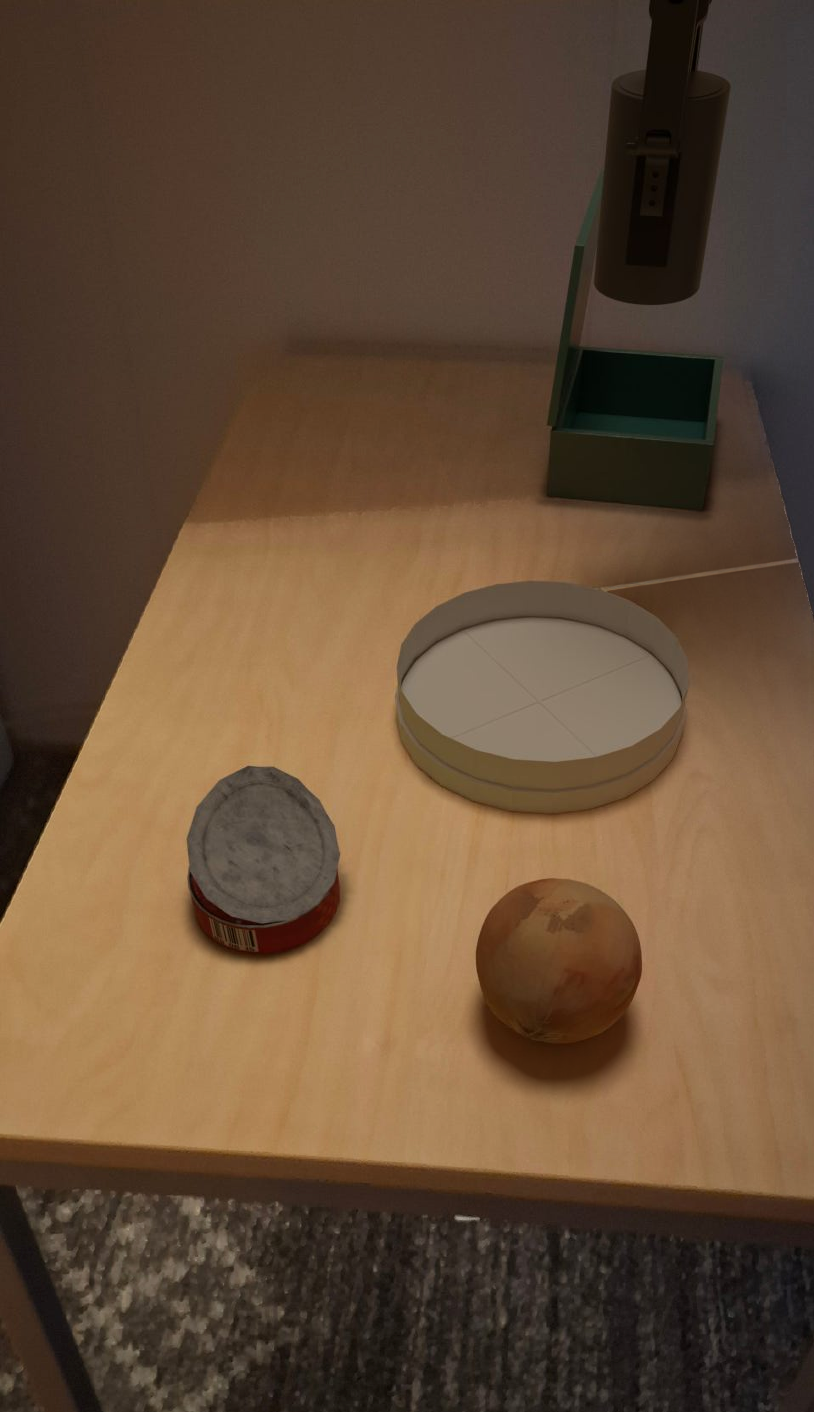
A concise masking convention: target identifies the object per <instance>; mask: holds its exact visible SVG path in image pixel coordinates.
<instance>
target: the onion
mask: <svg viewBox="0 0 814 1412" xmlns="http://www.w3.org/2000/svg"><path fill="white" fill-rule="evenodd" d="M475 947H476V948H475V968H476V974H477V978H478V982H479V986H480V990H481V994H482V997H483V999H484V1001H485V1003H486V1005H487V1006H488V1008H489V1009H490V1011H491V1012H492V1013H493V1015H494V1016H495V1017H496V1018H497V1019H498V1020H499V1021H500V1022H502V1023H503V1024H504V1025H506V1026H507V1027H508V1028H510V1029H511V1030H513V1031H514V1032H516V1033H518V1034H520V1035H521V1036H523V1037H525V1038H526V1039H529V1040H531V1041H536V1042H539V1041H540V1042H544V1043H547V1044H569V1043H576V1042H577V1043H578V1042H581V1041H584V1040H587V1039H590V1038H592V1037H596V1036H598V1035H600V1034H601V1033H603V1032H605V1031H606V1030H607V1029H609V1028H610V1027H612V1026H613V1025H614V1024H615V1023H616V1022H617V1021H618V1020H619V1019H621V1017H622V1016H623V1015H624V1014H625V1013H626V1011H627V1010H628V1008H629V1006H630V1005H631V1003H632V1001H633V999H634V997H635V995H636V992H637V990H638V987H639V985H640V981H641V980H642V979H641V978H642V973H643V958H642V957H643V956H642V954H643V953H642V947H641V940H640V937H639V934H638V932H637V929H636V927H635V925H634V923H633V920H632V919H631V918H630V916H629V915H628V913H627V912H626V911H625V909H623V907H622V906H621V905H620V904H619V903H618V902H617V901H616V900H615V899H614V898H613V897H612V896H610V895H608V894H607V893H605V892H604V891H602V890H601V889H599V888H597V887H595V886H593V885H591V884H589V883H585V882H583V881H578V880H574V879H569V878H557V877H556V878H554V877H550V878H542V879H541V878H540V879H537V880H532V881H528V882H526V883H523V884H520V885H518V886H515V887H514V888H513V889H511V890H509V891H508V892H507V893H506V894H504V895H503V896H502V897H500V898H499V900H498V901H497V902H496V903H495V904H494V905H493V906H492V907H491V909H490V910H489V911H488V913H487V915H486V917H485V918H484V921H483V923H482V926H481V928H480V931H479V933H478V939H477V942H476V946H475Z"/></svg>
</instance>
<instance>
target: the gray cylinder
mask: <svg viewBox="0 0 814 1412" xmlns="http://www.w3.org/2000/svg"><path fill="white" fill-rule="evenodd" d="M645 74H646V69H639V70H634V71H631V72H626V73H624V74H622V75H619V76H618V77H616V78H615V79H613V80H612V83H611V87H610V98H609V99H610V101H609V111H608V122H607V132H606V143H605V144H606V145H605V154H604V155H605V156H604V167H603V171H604V176H603V187H602V198H601V209H600V220H599V231H598V242H597V248H596V254H595V263H594V265H595V266H594V275H593V286H594V287H595V290H597V291H598V292H599V293H600V294H601V295H603V296H605V297H607V298H608V299H611V300H614V301H617V302H621V303H625V304H630V305H639V306H662V305H663V306H664V305H670V304H675V303H680V302H683V301H686V300H687V299H690V298H691V297H693V296H694V295H696V294H697V293H698V292H699V290H700V286H701V280H702V273H703V268H704V262H705V261H704V260H705V255H706V248H707V243H708V237H709V236H708V235H709V229H710V224H711V223H710V222H711V215H712V210H713V205H714V197H715V191H716V184H717V178H718V171H719V165H720V159H721V151H722V145H723V139H724V134H725V126H726V120H727V115H728V114H727V113H728V107H729V102H730V101H729V100H730V94H731V88H732V87H731V83H730V81H729V80H727V79H726V78H725V77H722V76H721V75H718V74H715V73H711V72H708V71H702V70H691V74H690V80H689V87H688V94H687V101H686V108H685V114H684V121H683V128H682V135H681V139H682V150H681V152H680V153H682V155H681V163H680V170H679V177H678V185H677V192H676V200H675V207H674V215H673V222H672V230H671V237H670V245H669V252H668V259H667V265H666V268H664V267H649V266H635V265H625V260H626V251H627V242H628V233H629V224H630V215H631V205H632V196H633V187H634V178H635V169H636V160H637V156H626V149H627V143H635V142H636V137H638V134H639V125H640V117H641V108H642V100H643V91H644V83H645ZM650 131H664V132H670V131H668V130H653V129H652V130H650Z"/></svg>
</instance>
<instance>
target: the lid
mask: <svg viewBox="0 0 814 1412" xmlns="http://www.w3.org/2000/svg"><path fill="white" fill-rule="evenodd" d="M603 176H604V170H600V171H599V175H598V177H597V181H596V183H595V186H594V189H593V191H592V194H591V198H590V200H589V203H588V207H587V209H586V212H585V215H584V218H583V221H582V223H581V226H580V229H579V232H578V235H577V238H576V241H575V244H574V249H573V255H572V260H571V261H572V263H571V268H570V273H569V281H568V286H567V294H566V299H565V306H564V311H563V312H564V313H563V319H562V326H561V331H560V338H559V344H558V351H557V358H556V362H555V363H556V364H555V370H554V377H553V383H552V390H551V396H550V401H549V408H548V416H547V421H546V426H549V427H552V426H554V427H555V426H556V423H557V420H558V416H559V413H560V409H561V406H562V403H563V399H564V396H565V392H566V389H567V386H568V382H569V379H570V376H571V372H572V369H573V365H574V362H575V359H576V355H577V352H578V349H579V346H581V343H582V342H581V341H582V337H583V330H584V324H585V319H586V312H587V306H588V302H589V301H588V300H589V296H590V295H589V294H590V288H591V283H592V276H593V272H594V267H595V266H594V265H595V261H596V253H597V242H598V231H599V220H600V209H601V198H602V187H603Z"/></svg>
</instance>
